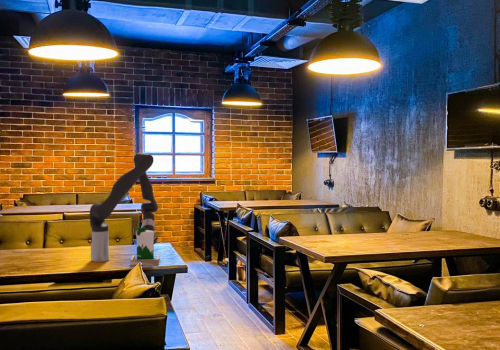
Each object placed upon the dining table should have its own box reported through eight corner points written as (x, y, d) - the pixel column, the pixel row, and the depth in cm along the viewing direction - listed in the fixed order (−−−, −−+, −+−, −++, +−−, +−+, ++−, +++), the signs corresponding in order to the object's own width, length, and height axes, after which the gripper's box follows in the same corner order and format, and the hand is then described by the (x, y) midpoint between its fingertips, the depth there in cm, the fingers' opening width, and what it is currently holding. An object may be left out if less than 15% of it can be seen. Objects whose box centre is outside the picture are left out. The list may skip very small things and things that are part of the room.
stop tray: (132, 260, 285) (132, 255, 285) (159, 259, 288) (159, 254, 287) (130, 265, 271) (130, 260, 271) (158, 264, 273) (158, 259, 273)
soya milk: (134, 262, 279) (134, 227, 279) (148, 260, 285) (148, 226, 285) (142, 264, 273) (141, 229, 272) (156, 262, 279) (156, 227, 278)
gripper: (136, 224, 301) (135, 248, 289) (158, 224, 302) (158, 247, 291) (137, 231, 306) (136, 255, 294) (159, 231, 308) (158, 254, 296)
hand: (147, 251), depth 293 cm, fingers closed
